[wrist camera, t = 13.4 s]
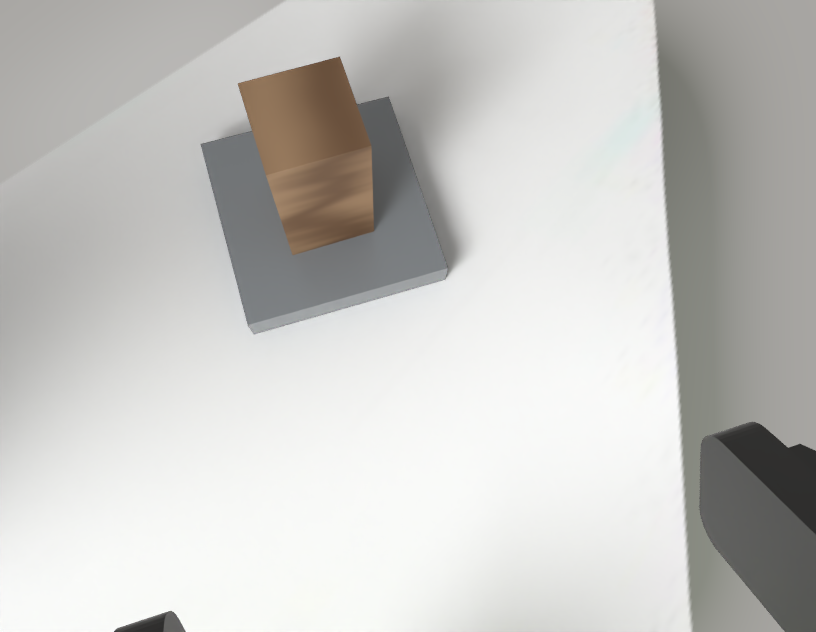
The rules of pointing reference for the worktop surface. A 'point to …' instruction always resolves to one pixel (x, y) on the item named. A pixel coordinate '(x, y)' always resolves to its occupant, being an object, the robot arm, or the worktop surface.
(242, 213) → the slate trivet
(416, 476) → the worktop surface
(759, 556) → the robot arm
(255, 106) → the walnut block
